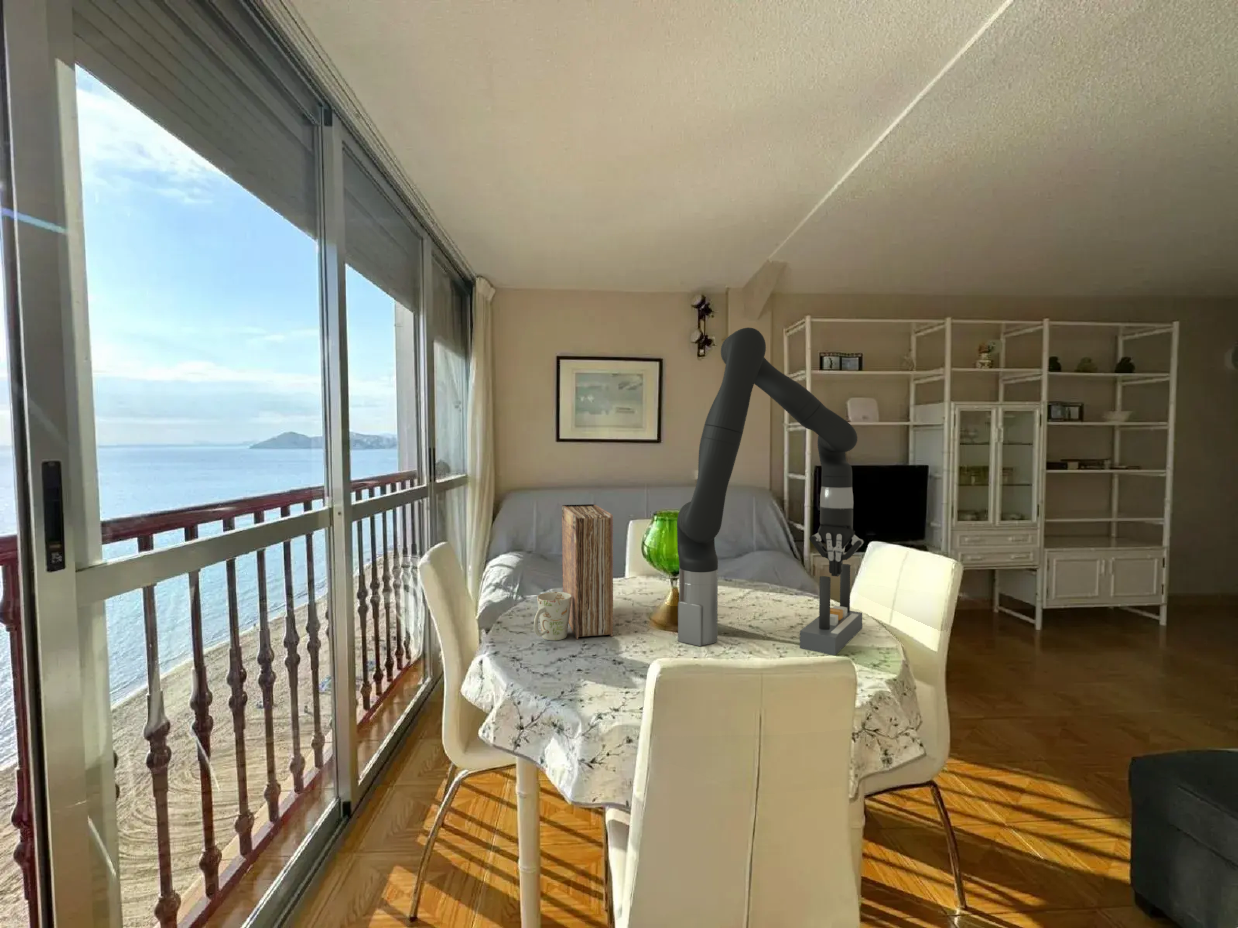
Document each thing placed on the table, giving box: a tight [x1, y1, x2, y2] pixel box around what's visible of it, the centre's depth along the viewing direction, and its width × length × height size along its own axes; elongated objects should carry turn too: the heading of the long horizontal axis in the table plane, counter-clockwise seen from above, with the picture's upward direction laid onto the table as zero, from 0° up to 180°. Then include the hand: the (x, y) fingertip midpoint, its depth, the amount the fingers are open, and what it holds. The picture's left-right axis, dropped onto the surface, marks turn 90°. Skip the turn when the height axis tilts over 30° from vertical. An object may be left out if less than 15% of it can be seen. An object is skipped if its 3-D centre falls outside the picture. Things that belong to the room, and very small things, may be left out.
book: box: [561, 503, 614, 641], centre depth 156 cm, size 25×9×30 cm, turn 13°
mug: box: [533, 591, 571, 641], centre depth 143 cm, size 8×13×10 cm, turn 155°
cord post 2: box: [839, 563, 851, 613], centre depth 153 cm, size 2×2×12 cm
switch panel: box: [799, 605, 863, 656], centre depth 144 cm, size 24×8×6 cm, turn 144°
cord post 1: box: [818, 575, 832, 630], centre depth 139 cm, size 2×2×12 cm
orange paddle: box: [830, 607, 843, 620], centre depth 146 cm, size 2×3×2 cm
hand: (835, 575), depth 145 cm, fingers closed
